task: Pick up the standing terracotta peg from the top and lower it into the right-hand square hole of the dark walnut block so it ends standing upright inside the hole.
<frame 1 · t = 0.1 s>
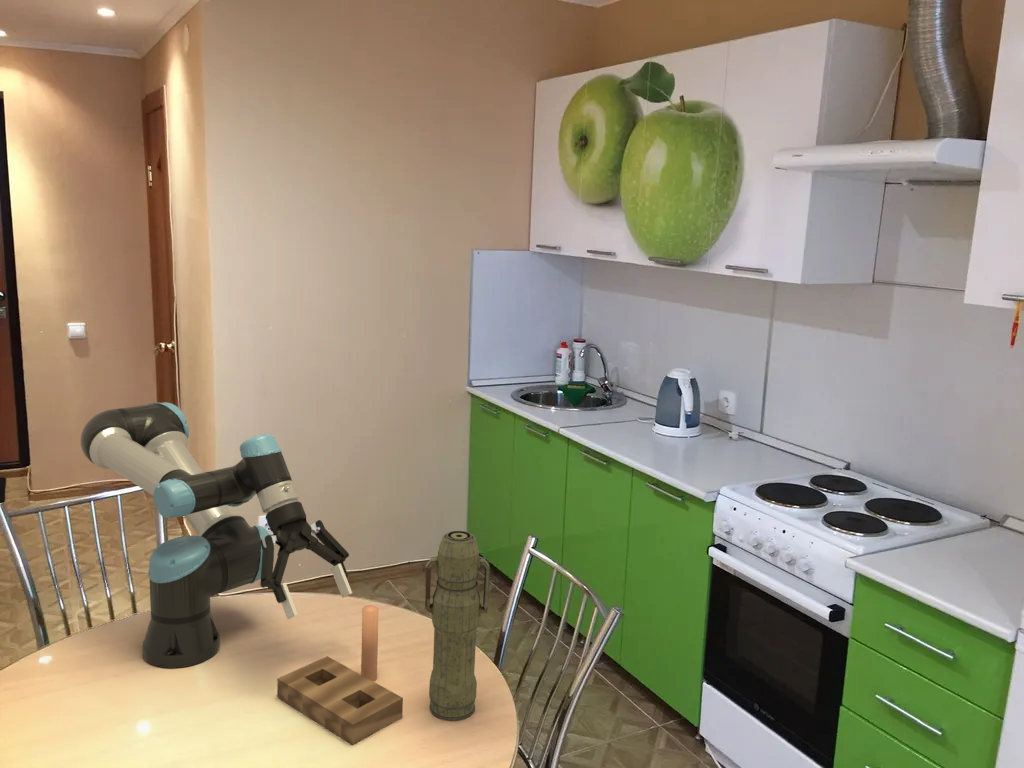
hand: (320, 606, 174), 15 cm above the table, tool tilted 35°, fingers open, 13 cm apart
hole block: (339, 707, 166), on the table
peg: (369, 677, 177), on the table
thermos: (451, 708, 168), on the table
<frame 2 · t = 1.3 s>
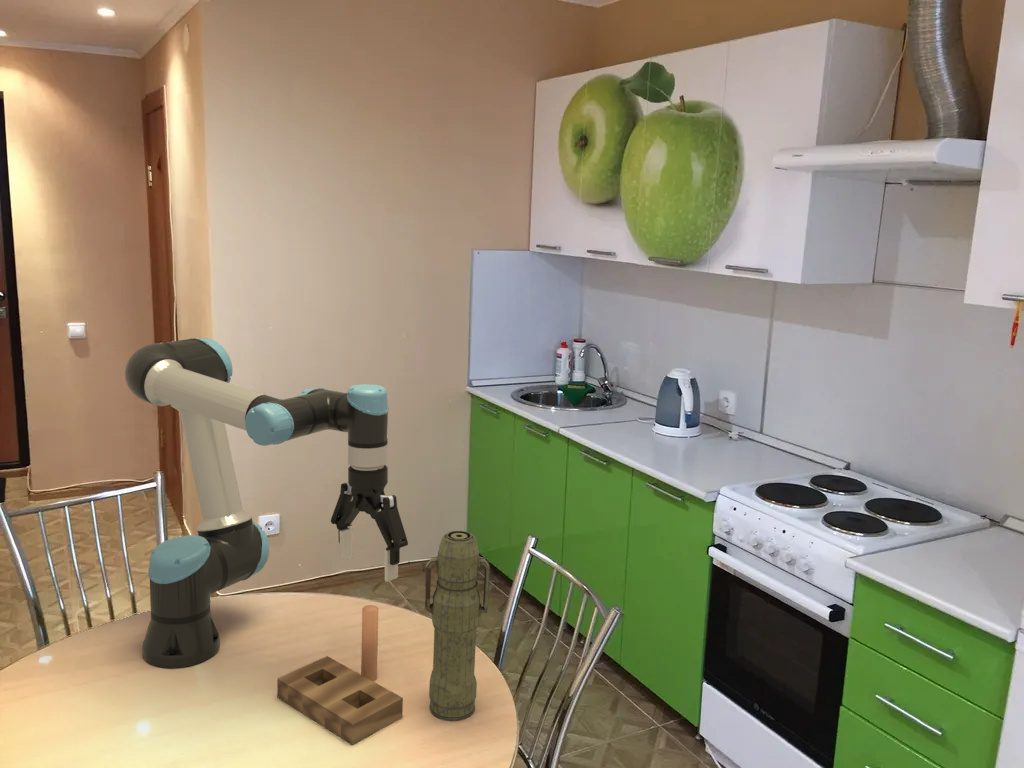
hand: (368, 569, 173), 23 cm above the table, tool pointing down, fingers open, 13 cm apart
nothing on the table moved.
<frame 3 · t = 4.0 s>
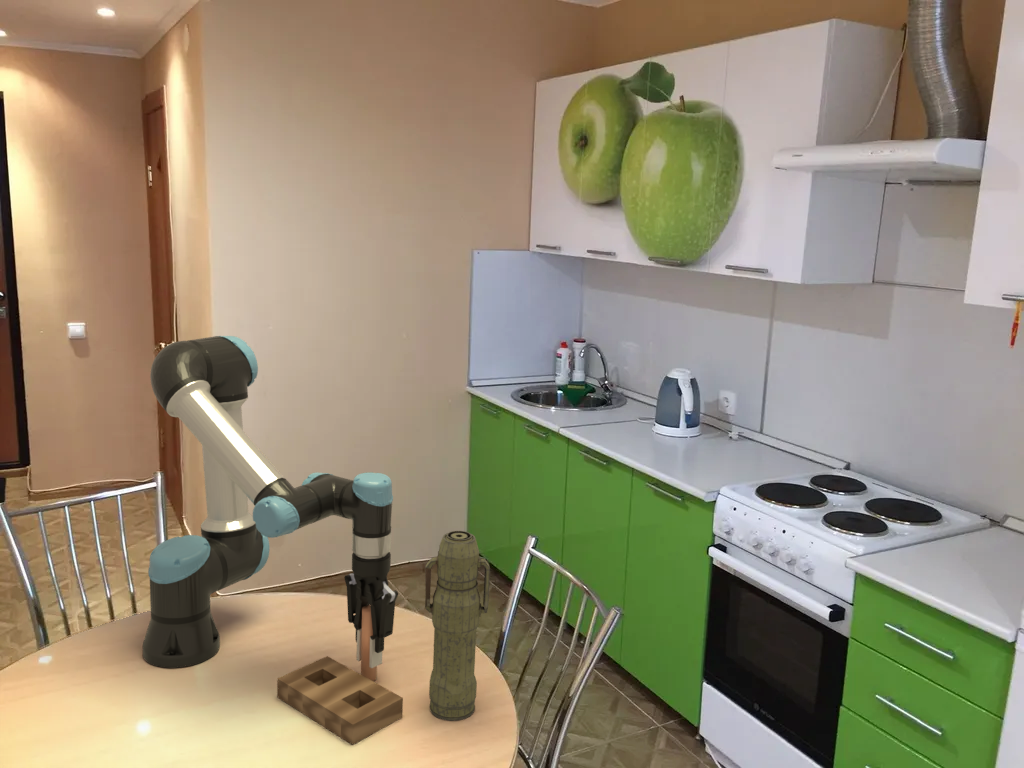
hand: (369, 661, 177), 4 cm above the table, tool pointing down, fingers closed on peg, 3 cm apart
peg: (368, 677, 177), on the table, touching gripper
everything else where it was.
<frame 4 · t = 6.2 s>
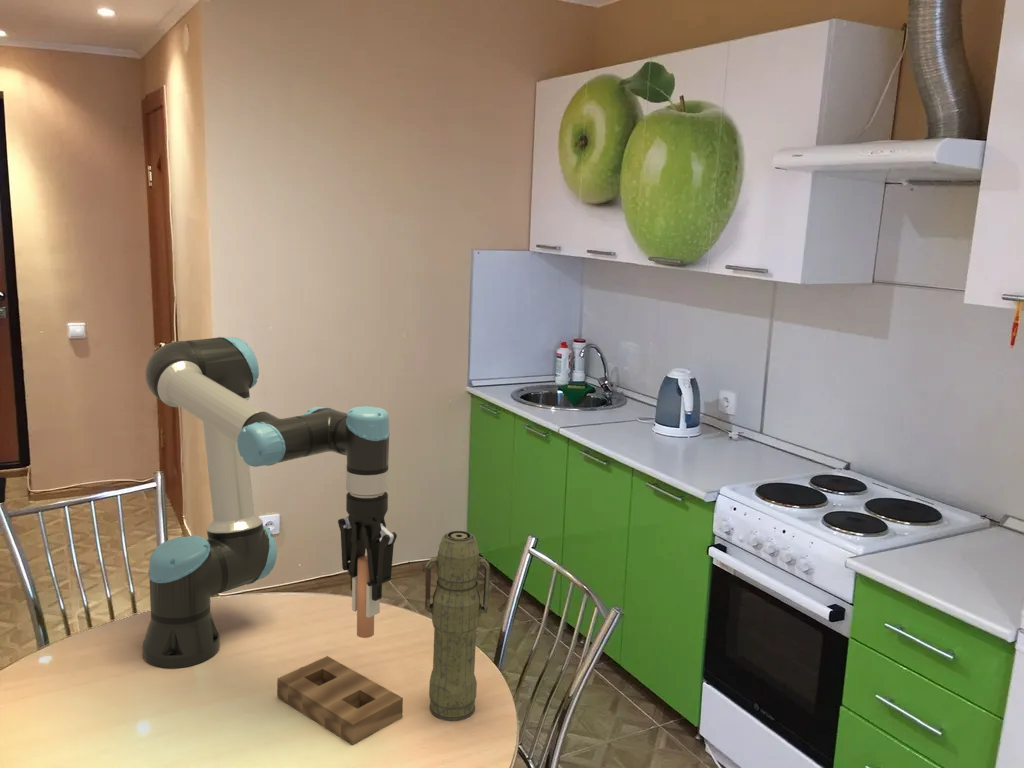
hand: (365, 611, 165), 19 cm above the table, tool pointing down, fingers closed on peg, 3 cm apart
peg: (365, 633, 166), point 14 cm above the table, touching gripper
everything else where it was.
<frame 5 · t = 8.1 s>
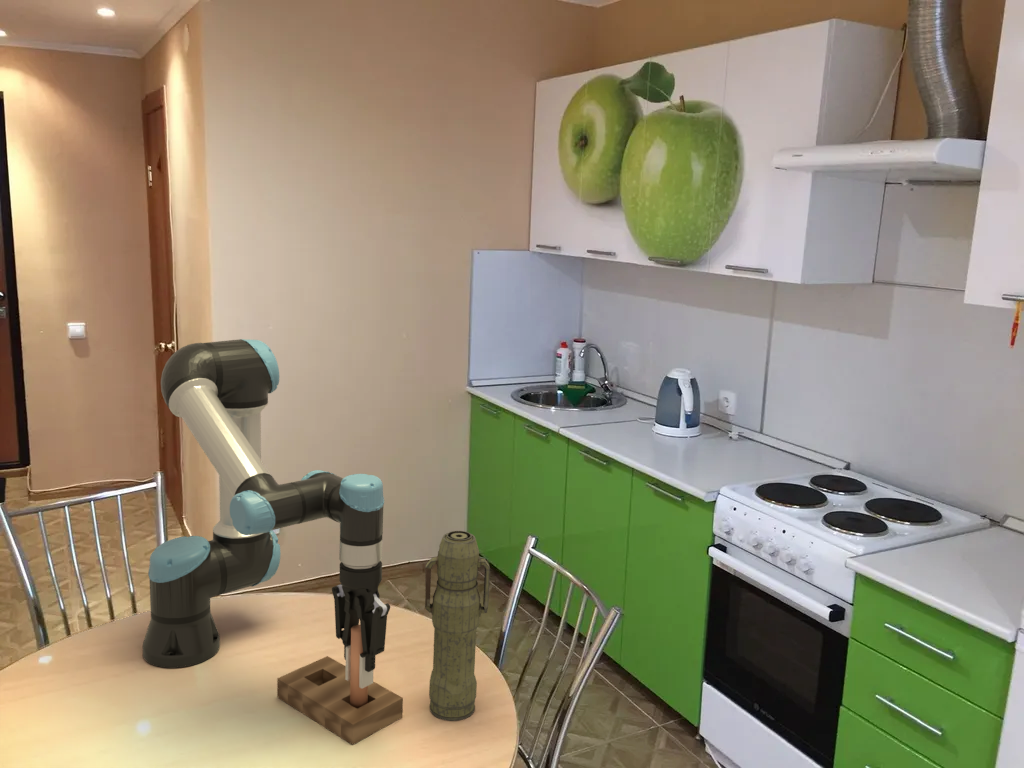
hand: (359, 681, 162), 8 cm above the table, tool pointing down, fingers closed on peg, 3 cm apart
peg: (358, 703, 162), point 3 cm above the table, touching gripper
everything else where it was.
when the fingers open (5 cm above the table, at t = 8.8 s): peg stays where it is, resting in hole block.
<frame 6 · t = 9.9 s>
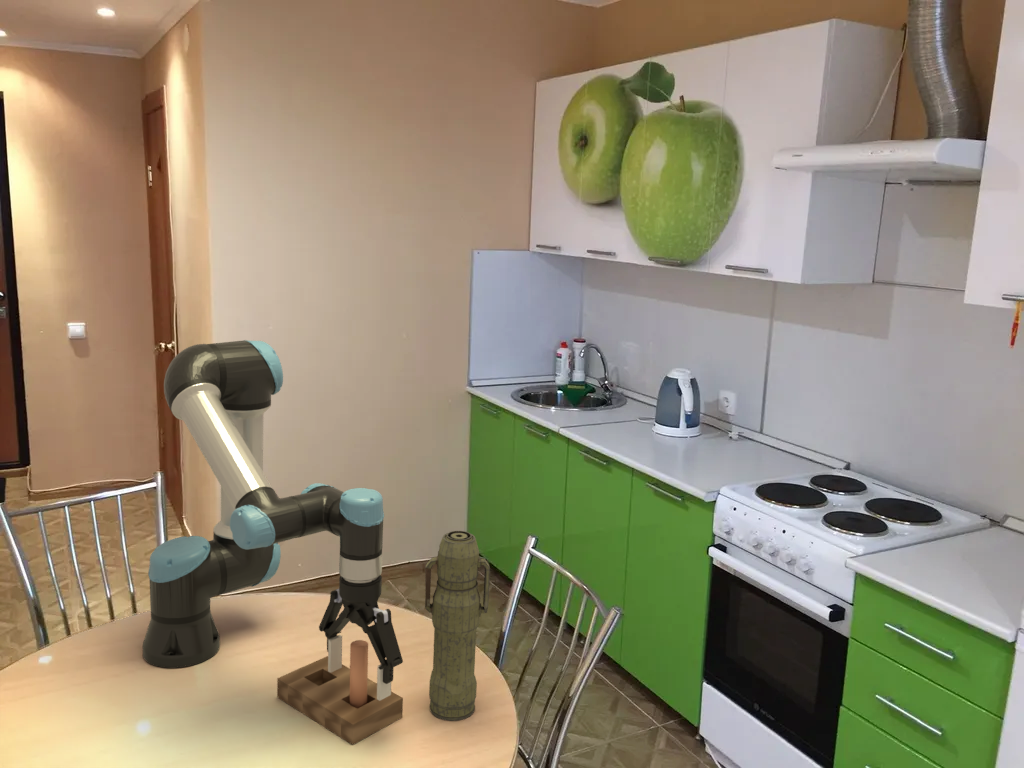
hand: (358, 683, 162), 7 cm above the table, tool pointing down, fingers open, 13 cm apart
peg: (358, 718, 163), resting in hole block
everything else where it was.
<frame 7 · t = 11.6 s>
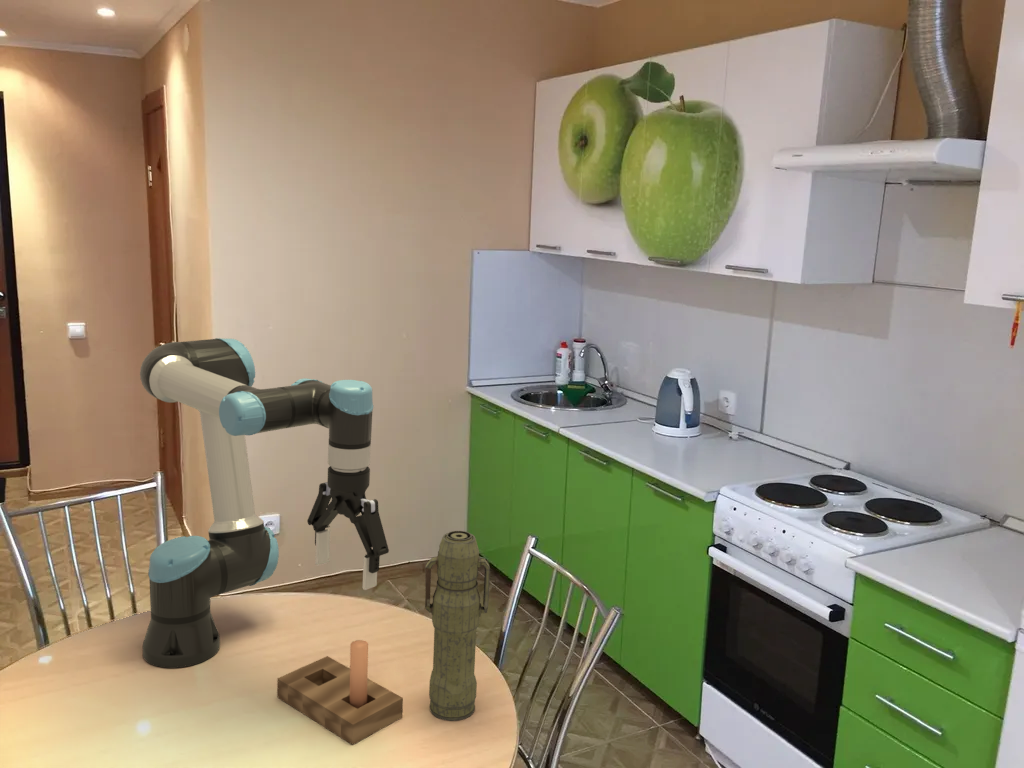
hand: (345, 575, 163), 26 cm above the table, tool pointing down, fingers open, 13 cm apart
nothing on the table moved.
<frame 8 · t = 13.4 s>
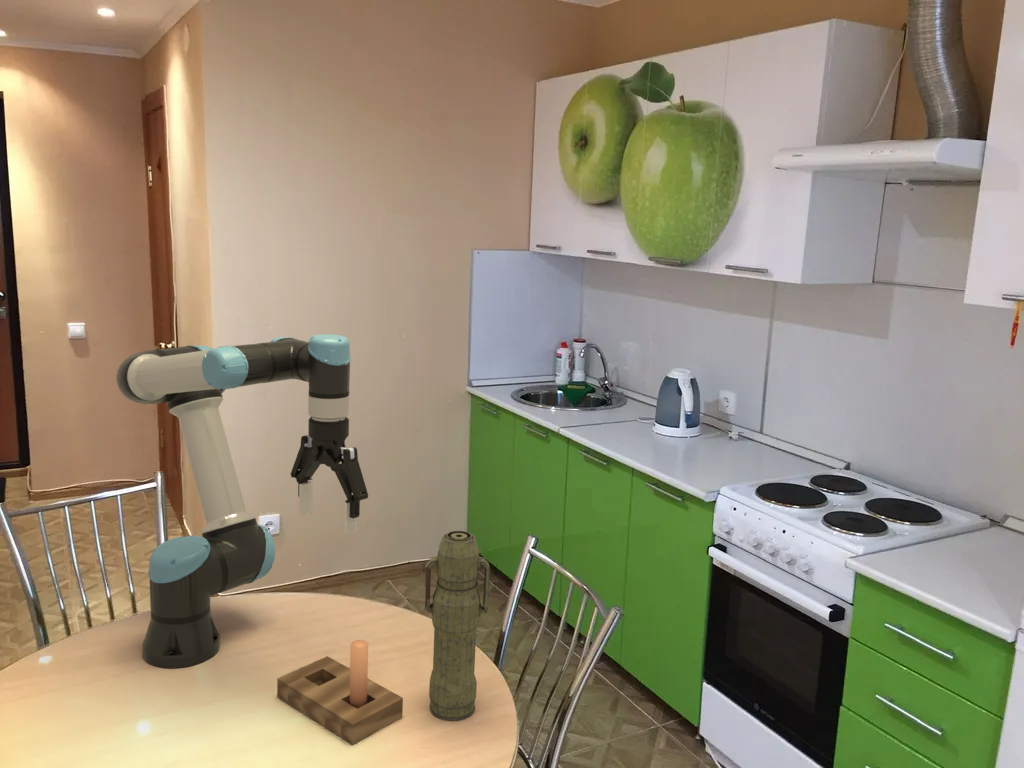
hand: (327, 523, 170), 33 cm above the table, tool pointing down, fingers open, 13 cm apart
nothing on the table moved.
at the end: peg 0.0 cm from the target spot on the hole block, point 0.0 cm above the hole block's base; peg tilted 0°; the gripper is holding nothing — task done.
